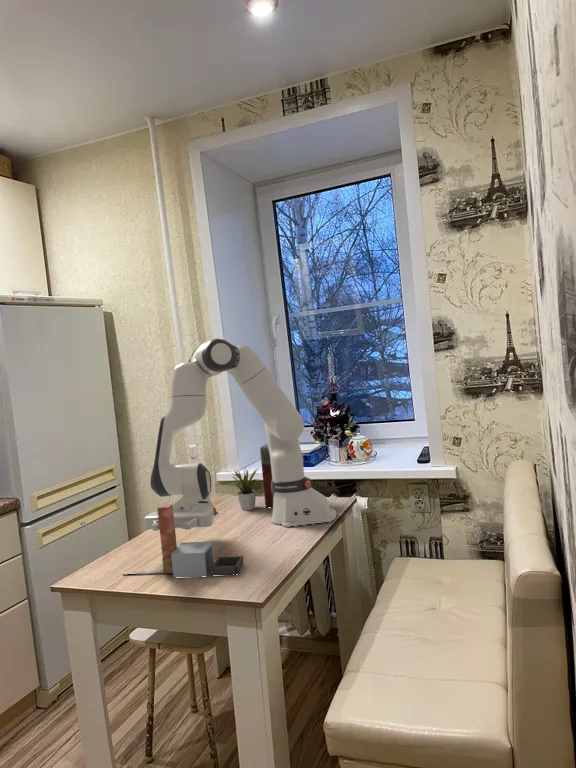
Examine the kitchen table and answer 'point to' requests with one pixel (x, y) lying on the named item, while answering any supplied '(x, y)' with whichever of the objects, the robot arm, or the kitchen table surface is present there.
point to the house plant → (246, 490)
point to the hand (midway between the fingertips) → (171, 527)
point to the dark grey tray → (227, 565)
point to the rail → (148, 572)
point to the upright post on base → (167, 535)
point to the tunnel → (192, 559)
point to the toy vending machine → (266, 475)
